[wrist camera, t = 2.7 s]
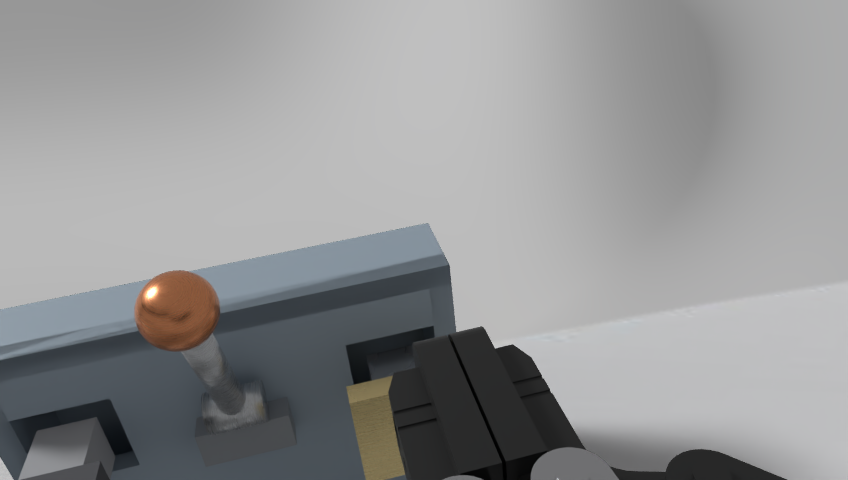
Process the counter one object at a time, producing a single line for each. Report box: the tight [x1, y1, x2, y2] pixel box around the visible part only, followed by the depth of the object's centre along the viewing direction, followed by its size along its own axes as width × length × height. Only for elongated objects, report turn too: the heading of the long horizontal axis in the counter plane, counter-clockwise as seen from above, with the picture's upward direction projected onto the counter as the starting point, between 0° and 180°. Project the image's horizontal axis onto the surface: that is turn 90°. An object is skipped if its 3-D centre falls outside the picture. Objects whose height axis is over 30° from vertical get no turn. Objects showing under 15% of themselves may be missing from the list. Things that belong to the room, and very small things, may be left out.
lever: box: [134, 270, 269, 436], centre depth 25 cm, size 3×3×10 cm
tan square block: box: [346, 345, 415, 480], centre depth 29 cm, size 5×4×5 cm
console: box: [0, 223, 456, 480], centre depth 32 cm, size 20×5×13 cm, turn 103°
